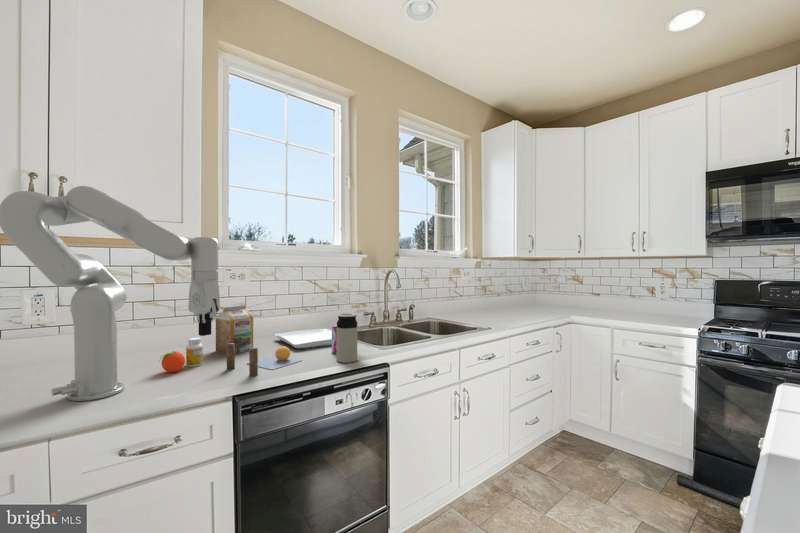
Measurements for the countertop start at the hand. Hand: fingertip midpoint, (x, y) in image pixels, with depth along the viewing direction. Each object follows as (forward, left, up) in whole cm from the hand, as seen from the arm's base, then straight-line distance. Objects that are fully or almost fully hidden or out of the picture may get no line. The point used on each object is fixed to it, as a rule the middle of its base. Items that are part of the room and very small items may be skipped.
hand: (205, 334), depth 115 cm
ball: (+30, -1, -12) cm, 33 cm away
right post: (+13, -6, -15) cm, 21 cm away
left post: (+13, +6, -15) cm, 21 cm away
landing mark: (+27, 0, -15) cm, 31 cm away
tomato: (0, +20, -15) cm, 25 cm away
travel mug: (+44, -21, -15) cm, 51 cm away
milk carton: (+30, +29, -15) cm, 44 cm away
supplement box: (+52, -11, -15) cm, 55 cm away
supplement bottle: (+9, +22, -15) cm, 28 cm away
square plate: (+60, +14, -16) cm, 64 cm away
